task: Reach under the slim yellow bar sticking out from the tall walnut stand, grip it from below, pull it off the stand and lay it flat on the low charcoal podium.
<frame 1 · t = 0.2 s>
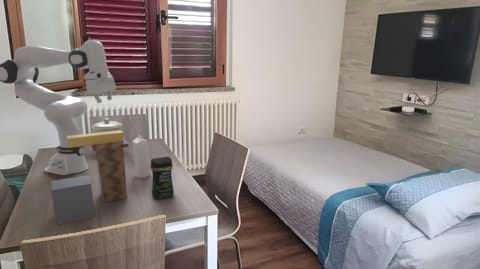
hand: (104, 101, 176), 39 cm above the table, tool pointing down, fingers open, 8 cm apart
coffee jar: (163, 196, 160), on the table
walnut stand: (114, 195, 159), on the table
podium: (75, 215, 141), on the table
yellow bar: (96, 143, 150), point 26 cm above the table, touching walnut stand
canister: (109, 150, 227), on the table
milk: (142, 175, 184), on the table
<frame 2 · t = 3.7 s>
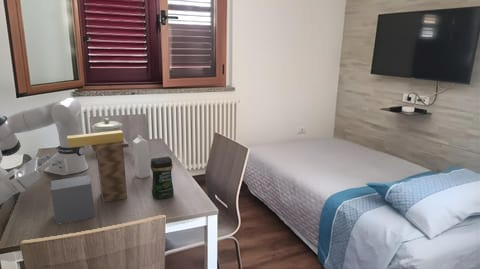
hand: (49, 159, 143), 22 cm above the table, tool pointing upward, fingers open, 8 cm apart
nothing on the table moved.
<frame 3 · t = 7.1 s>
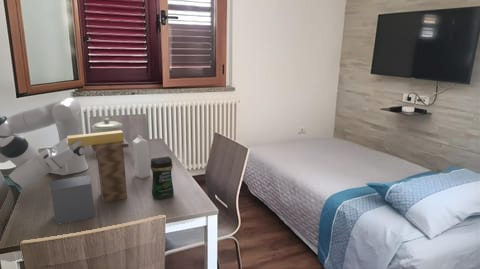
hand: (80, 139, 147), 28 cm above the table, tool pointing upward, fingers closed on yellow bar, 4 cm apart
yellow bar: (96, 143, 150), point 26 cm above the table, touching gripper, walnut stand
everything else where it was.
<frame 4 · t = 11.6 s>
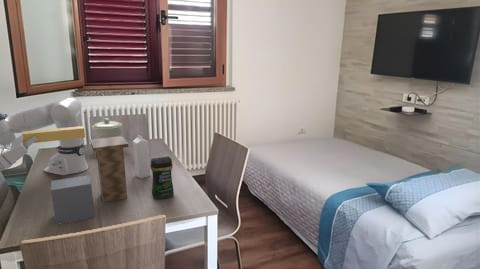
hand: (37, 135, 138), 32 cm above the table, tool pointing upward, fingers closed on yellow bar, 4 cm apart
yellow bar: (55, 139, 142), point 30 cm above the table, touching gripper
everything else where it was.
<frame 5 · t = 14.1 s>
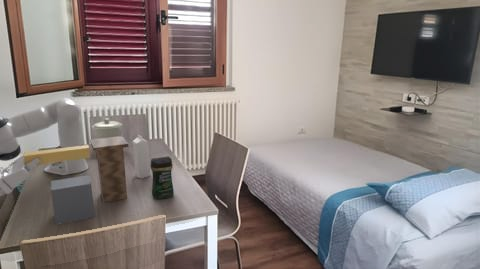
hand: (39, 156, 130), 27 cm above the table, tool pointing upward, fingers closed on yellow bar, 4 cm apart
yellow bar: (58, 160, 133), point 24 cm above the table, touching gripper
everything else where it was.
when the fingers open (18 cm above the table, at t = 16.4 s): yellow bar drops 1 cm, resting on podium.
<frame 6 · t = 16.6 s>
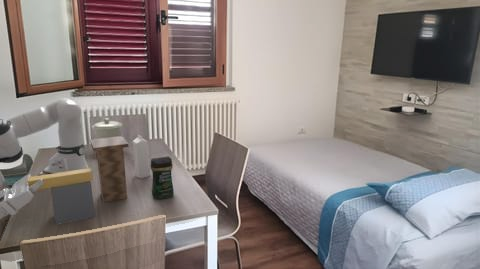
hand: (42, 177, 132), 18 cm above the table, tool pointing upward, fingers open, 6 cm apart
yellow bar: (62, 183, 136), point 14 cm above the table, touching podium
everything else where it was.
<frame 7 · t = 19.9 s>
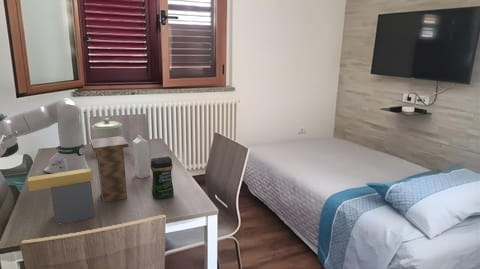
hand: (17, 135, 126), 36 cm above the table, tool pointing upward, fingers open, 8 cm apart
nothing on the table moved.
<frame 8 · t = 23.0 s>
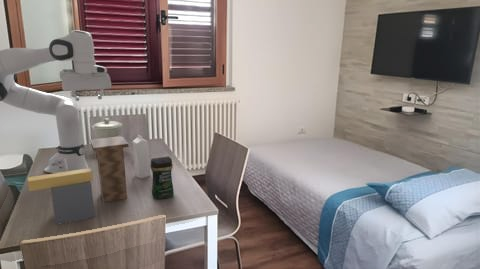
hand: (88, 99, 156), 43 cm above the table, tool pointing down, fingers open, 8 cm apart
nothing on the table moved.
at the end: yellow bar inside the target area on the podium (0.5 cm from its centre), point 14.5 cm above the podium's base; yellow bar tilted 0°; the gripper is holding nothing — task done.
